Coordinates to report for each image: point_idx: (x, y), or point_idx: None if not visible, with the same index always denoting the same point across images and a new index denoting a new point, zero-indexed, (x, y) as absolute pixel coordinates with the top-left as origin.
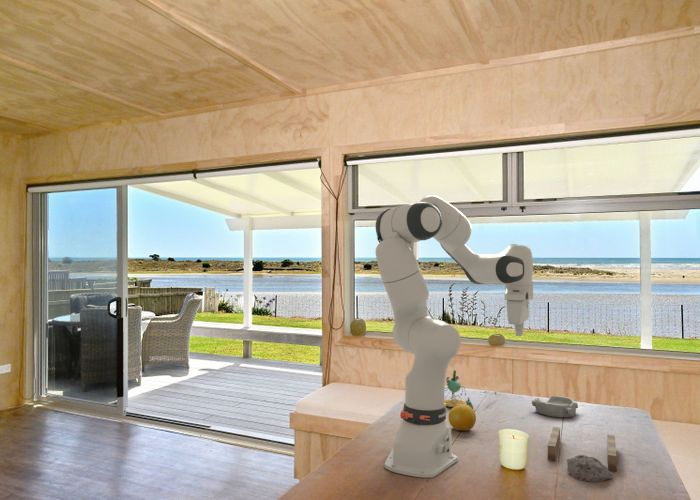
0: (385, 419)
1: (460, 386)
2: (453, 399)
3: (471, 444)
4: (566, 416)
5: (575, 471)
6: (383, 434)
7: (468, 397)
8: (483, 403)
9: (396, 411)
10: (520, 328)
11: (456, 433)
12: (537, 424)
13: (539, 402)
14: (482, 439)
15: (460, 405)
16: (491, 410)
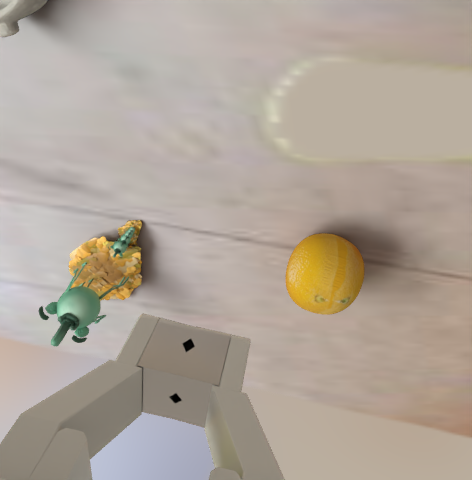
0: (288, 392)
1: (75, 291)
2: (81, 276)
3: (450, 232)
4: None
5: None
6: (396, 393)
7: (114, 256)
8: (39, 194)
9: None
10: (264, 439)
11: None
12: (189, 16)
13: (25, 3)
14: (400, 204)
15: (326, 302)
16: (100, 173)
